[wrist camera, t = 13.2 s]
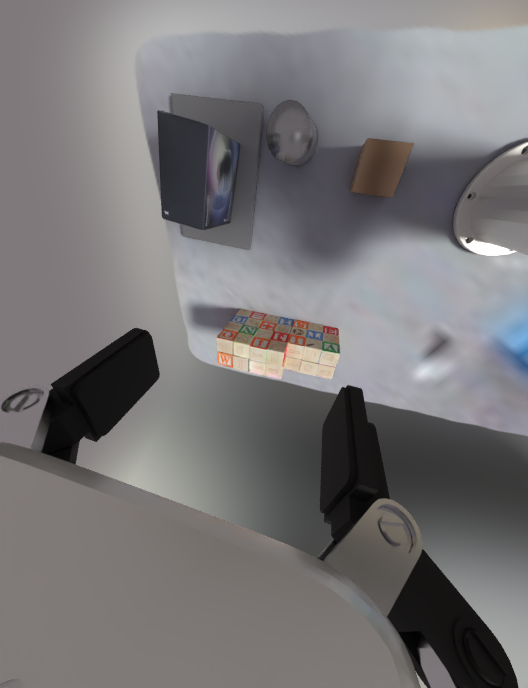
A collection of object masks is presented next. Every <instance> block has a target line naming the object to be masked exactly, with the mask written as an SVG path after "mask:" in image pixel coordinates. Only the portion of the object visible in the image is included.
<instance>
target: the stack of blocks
mask: <svg viewBox="0 0 528 688" xmlns="http://www.w3.org/2000/svg"><path fill="white" fill-rule="evenodd" d="M217 351H218V352H217V356H218V364H219V365H223V366H227V367H231V368H234V369H237V370H241V371H246V372H248V371H249V372H250V373H255V374H259V375H265V376H269V377H273V378H278V379H281V377H282V374H283V370H284V369H288V370H292V371H297V372H300V373H304V374H308V375H313V376H318V377H323V378H327V379H332V376H333V373H334V370H335V367H336V364H337V361H338V359H339V356H340V345H339V330H338V328H332V327H327V326H323V325H319V324H314V323H308V322H304V321H299V320H293V319H288V318H283V317H277V316H272V315H267V314H264V313H259V312H254V311H249V310H244V309H239V310H238V312H237V313H236V314H235V316H234V317H233V318H232V319H231V320H230V322H228V323H227V325H226V326H225V327H224V328H223V331H222V332H221V333H220V334H219V335H218V337H217Z"/></svg>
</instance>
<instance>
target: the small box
mask: <svg viewBox="0 0 528 688" xmlns="http://www.w3.org/2000/svg"><path fill="white" fill-rule="evenodd" d="M157 113H158V137H159V160H160V184H161V206H162V218H163V219H166V220H169V221H172V222H176V223H179V224H182V225H185V226H188V227H192V228H195V229H198V230H201V231H204V230H206V229H210V228H214V227H218V226H222V225H225V224H229V223H230V222H231V215H232V207H233V199H234V191H235V184H236V176H237V168H238V160H239V152H240V144H239V143H237V142H235V141H234V140H232V139H231V138H229V137H227V136H226V135H224V134H222V133H221V132H219V131H218V130H216V129H214V128H213V127H211V126H210V125H208V124H205V123H202V122H200V121H196V120H193V119H189V118H185V117H182V116H178V115H175V114H171V113H167V112H164V111H160V110H159V111H157Z"/></svg>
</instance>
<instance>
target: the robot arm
mask: <svg viewBox="0 0 528 688" xmlns="http://www.w3.org/2000/svg"><path fill="white" fill-rule="evenodd" d="M522 149H523V150H524V151H523V152H522V153H521V151H522ZM469 194H470V197H469V198H467V197H468V195H469ZM453 229H454V234H455V237H456V238H457V240H458V242H459V243H460V244H461V245H462V246H463V247H464V248H465V249H467V250H469V251H470V252H473V253H476V254H479V255H484V256H500V255H506V254H511V253H514V252H520V253H523V254H526V255H528V141H526V142H524V143H522V144H519V145H517V146H515V147H513V148H511V149H509V150H507V151H506V152H504V153H502V154H501V155H499V156H498V157H496V158H495V159H494V160H493V161H491V162H490V163H489V164H487V165H486V166H485V167H484V168H483V169H482V170H481V171H480V172H479V173H478V174H477V175H476V176H475V177H474V178H473V180H472V181H471V182H470V183H469V185H468V186H467V187H466V189H465V191H464V192H463V194H462V196H461V197H460V199H459V202H458V204H457V207H456V209H455V214H454V218H453ZM467 238H468V240H466V239H467ZM465 240H466V241H465ZM159 375H160V373H159V368H158V364H157V359H156V354H155V349H154V345H153V340H152V336H151V335H150V334H149V332H148V331H146V330H142V329H139V328H134V329H132V330H130V331H129V332H128V333H126V334H125V335H123V336H122V337H120V338H119V339H117V340H116V341H114V342H113V343H111V344H110V345H108V346H107V347H105V348H104V349H102V350H101V351H99V352H98V353H96V354H95V355H93V356H92V357H91V358H89V359H87V360H86V361H84V362H83V363H82V364H80V365H79V366H77V367H76V368H74V369H73V370H71V371H70V372H68V373H67V374H65V375H64V376H62V377H61V378H59V379H58V380H57V381H55V382H53V383H52V384H51V385H52V387H53V389H52V390H50V391H49V390H48V388H47V387H44V386H40V385H34V386H28V387H24V388H21V389H18V390H15V391H13V392H11V393H10V394H8V395H6V396H5V397H3V398H2V399H1V400H0V688H421V687H420V684H419V681H418V678H417V675H416V672H417V674H418V676H419V677H420V678H421V680H422V681H423V682H424V684H425V685H426V686H427V688H518V683H517V678H516V675H515V673H514V670H513V668H512V665H511V663H510V660H509V658H508V657H507V655H506V653H505V651H504V649H503V648H502V646H501V644H500V643H499V641H498V640H497V638H496V637H495V636H494V634H493V633H492V632H491V630H490V629H489V628H488V627H487V625H486V624H485V623H484V622H483V621H482V620H481V618H480V617H479V616H478V615H477V614H476V612H475V611H474V610H473V609H472V607H471V606H470V605H469V604H468V603H467V602H466V600H465V599H464V598H463V597H462V595H461V594H460V593H459V592H458V591H457V589H456V588H455V587H454V586H453V585H452V583H451V582H450V581H449V580H448V579H447V578H446V576H445V575H444V574H443V573H442V572H441V570H440V569H439V568H438V567H437V565H436V564H435V563H434V562H433V561H432V559H431V558H430V557H429V556H428V555H427V553H426V552H425V551H424V550H423V549H422V548H423V545H422V537H421V534H420V531H419V528H418V526H417V524H416V522H415V521H414V519H413V518H412V516H411V515H410V514H409V513H408V511H407V510H405V509H404V508H403V507H402V506H401V505H400V504H398V503H396V502H395V501H393V500H390V498H389V493H388V488H387V483H386V477H385V473H384V467H383V463H382V457H381V452H380V447H379V442H378V437H377V432H376V428H375V426H374V424H372V423H369V422H368V421H367V416H366V409H365V403H364V397H363V391H362V389H361V388H357V387H353V386H350V385H348V386H347V387H346V388H344V387H342V388H341V390H340V392H339V394H338V396H337V398H336V400H335V402H334V404H333V406H332V408H331V410H330V412H329V414H328V416H327V418H326V420H325V422H324V424H323V430H322V461H321V492H320V494H321V495H320V511H321V512H322V513H324V522H325V523H328V524H331V531H332V532H331V535H332V537H333V540H332V541H331V543H330V544H329V545H328V546H327V547H326V548H325V550H324V551H323V552H322V553H321V554H320V555H319V557H318V558H315V557H313V556H311V555H309V554H307V553H305V552H303V551H300V550H298V549H296V548H294V547H291V546H289V545H287V544H284V543H282V542H279V541H276V540H274V539H272V538H269V537H266V536H264V535H261V534H259V533H257V532H254V531H252V530H249V529H246V528H244V527H241V526H238V525H235V524H233V523H230V522H228V521H225V520H222V519H220V518H217V517H215V516H212V515H209V514H207V513H204V512H201V511H198V510H196V509H193V508H191V507H188V506H185V505H183V504H180V503H177V502H175V501H172V500H169V499H167V498H164V497H161V496H159V495H156V494H153V493H151V492H148V491H145V490H143V489H140V488H137V487H134V486H132V485H129V484H126V483H124V482H121V481H118V480H116V479H113V478H110V477H107V476H104V475H102V474H99V473H97V472H94V471H91V470H88V469H86V468H83V467H80V466H77V465H76V460H77V454H78V448H79V442H80V440H81V439H82V438H83V437H84V436H85V438H87V439H89V440H92V441H95V442H97V441H98V440H99V439H100V438H101V436H104V435H106V434H107V433H108V432H109V431H110V430H111V429H112V428H113V427H114V426H115V425H116V424H117V423H118V422H119V421H120V420H121V419H122V417H123V416H124V415H125V414H126V413H127V412H128V411H129V410H130V409H131V408H132V407H133V405H134V404H136V403H137V401H138V400H139V399H140V398H141V397H142V396H143V395H144V394H145V393H146V392H147V391H148V390H149V389H150V387H152V385H153V384H154V383H155V382H156V381H157V380H158V378H159ZM415 671H416V672H415Z"/></svg>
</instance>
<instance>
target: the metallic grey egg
mask: <svg viewBox="0 0 528 688" xmlns="http://www.w3.org/2000/svg"><path fill="white" fill-rule="evenodd" d="M317 140H318V136H317V129H316V127H315V124H314V123H313V121H312V120H311V118H310V116H309V115H308V113H307V111H306V110H305V108H304V107H303V106H302V105H301V104H300V103H299V102H297V101H294V100H287V101H284V102H282V103H281V104H279V105H278V106H277V107H276V108H275V109H274V111H273V112H272V114H271V116H270V118H269V121H268V125H267V143H268V147H269V149H270V151H271V153H272V154H273V156H274V157H275V158H277V159H278V160H280V161H283V162H286V163H289V164H292V165H296V166H299V165H302V164H304V163H306V162H307V161H308V160H309V159H310V158H311V157H312V156H313V154H314V152H315V149H316V146H317Z"/></svg>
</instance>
